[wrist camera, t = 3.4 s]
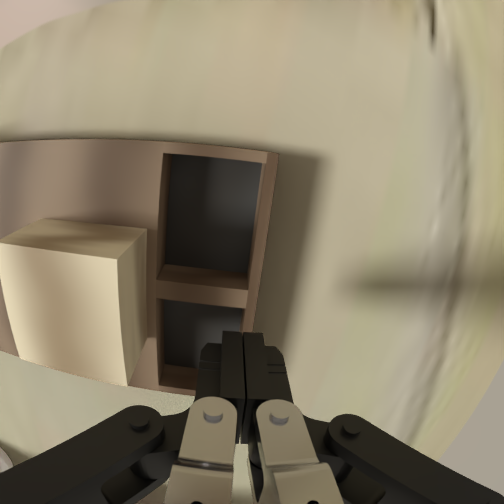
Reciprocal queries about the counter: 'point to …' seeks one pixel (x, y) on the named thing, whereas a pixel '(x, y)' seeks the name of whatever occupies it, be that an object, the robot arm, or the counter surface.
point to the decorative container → (4, 461)
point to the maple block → (77, 296)
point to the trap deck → (157, 232)
